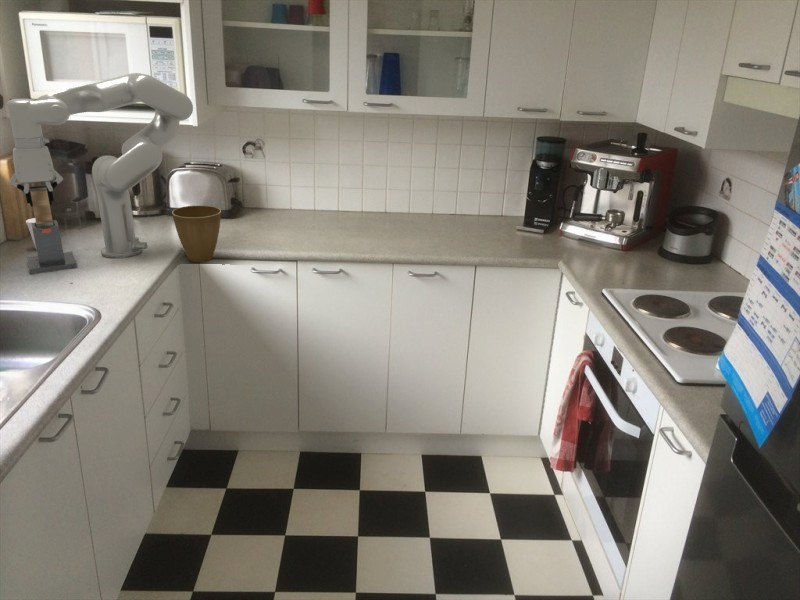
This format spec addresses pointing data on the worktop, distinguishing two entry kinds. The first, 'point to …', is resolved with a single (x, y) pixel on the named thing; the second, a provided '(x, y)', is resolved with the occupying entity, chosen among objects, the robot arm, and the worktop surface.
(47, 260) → the stand
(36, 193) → the column
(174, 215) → the plant pot
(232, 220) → the worktop surface
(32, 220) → the smoothie
